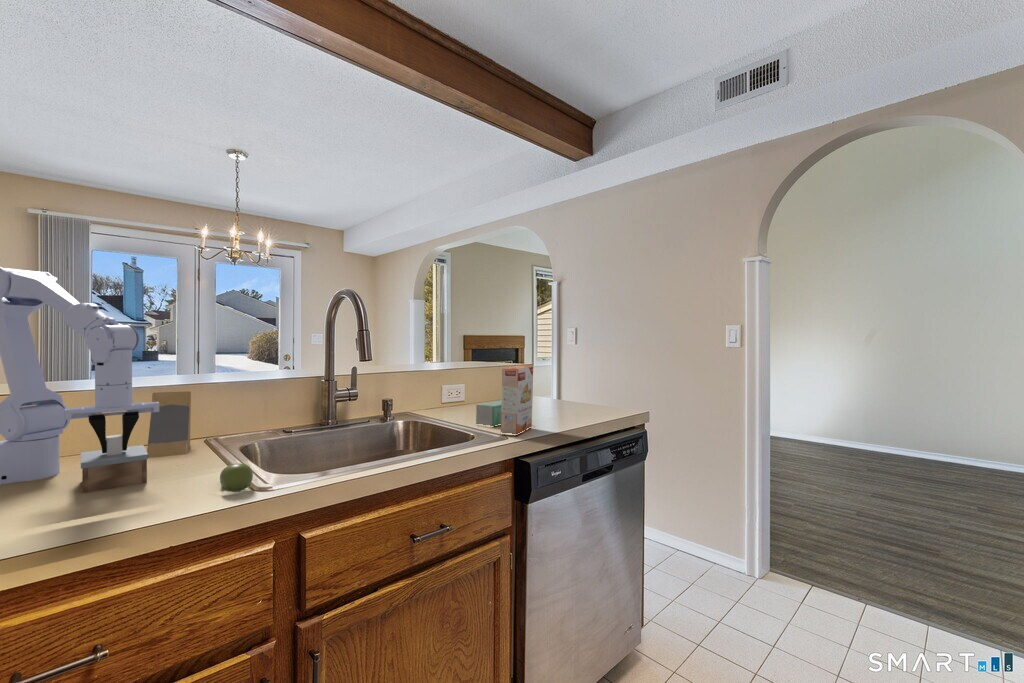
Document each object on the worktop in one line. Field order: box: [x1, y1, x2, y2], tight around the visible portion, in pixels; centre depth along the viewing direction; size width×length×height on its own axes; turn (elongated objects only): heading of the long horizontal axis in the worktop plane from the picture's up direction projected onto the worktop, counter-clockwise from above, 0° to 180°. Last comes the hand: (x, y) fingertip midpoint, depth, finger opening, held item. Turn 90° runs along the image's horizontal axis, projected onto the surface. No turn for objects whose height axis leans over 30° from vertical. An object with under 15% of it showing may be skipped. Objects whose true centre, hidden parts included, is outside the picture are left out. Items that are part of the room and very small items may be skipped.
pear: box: [219, 463, 254, 493], centre depth 95 cm, size 6×5×10 cm
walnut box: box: [81, 459, 148, 494], centre depth 95 cm, size 10×10×6 cm
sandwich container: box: [146, 390, 192, 459], centre depth 120 cm, size 9×15×15 cm, turn 32°
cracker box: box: [500, 365, 534, 434], centre depth 150 cm, size 14×6×21 cm, turn 158°
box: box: [475, 400, 502, 426], centre depth 163 cm, size 7×14×8 cm, turn 145°
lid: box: [80, 433, 149, 470], centre depth 95 cm, size 10×10×4 cm
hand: (114, 450), depth 95 cm, fingers closed on lid, 2 cm apart
